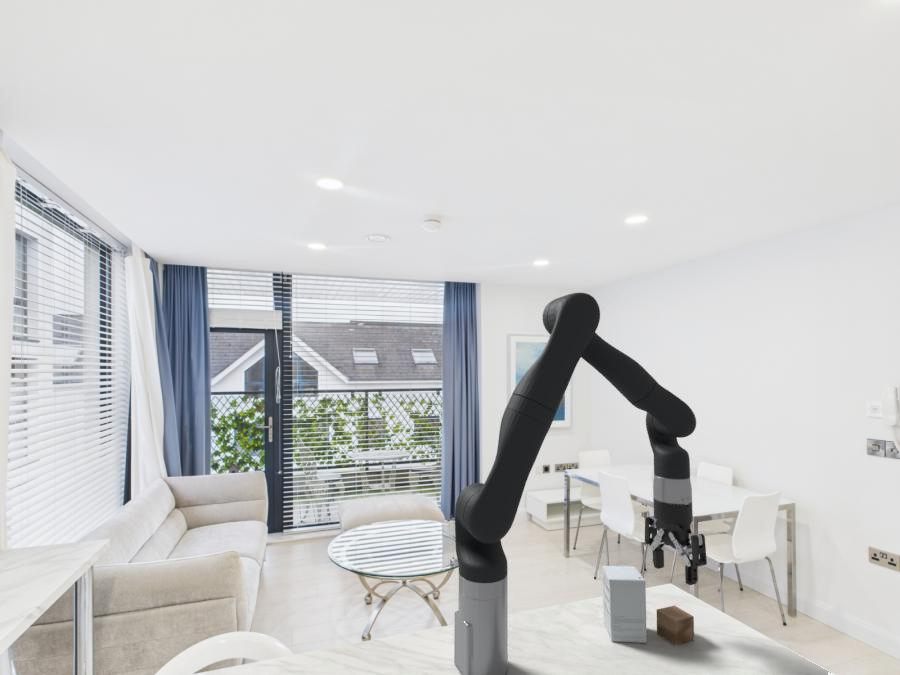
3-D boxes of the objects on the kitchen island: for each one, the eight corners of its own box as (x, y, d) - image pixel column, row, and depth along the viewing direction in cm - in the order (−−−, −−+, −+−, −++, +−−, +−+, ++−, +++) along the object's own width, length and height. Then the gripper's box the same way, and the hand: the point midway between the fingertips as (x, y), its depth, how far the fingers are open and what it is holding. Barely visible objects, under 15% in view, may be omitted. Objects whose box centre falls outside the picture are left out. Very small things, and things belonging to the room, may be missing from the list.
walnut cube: (675, 646, 100) (675, 620, 100) (656, 633, 105) (656, 609, 105) (694, 641, 102) (693, 616, 102) (674, 629, 106) (674, 605, 107)
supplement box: (637, 625, 108) (636, 565, 109) (647, 644, 101) (646, 580, 101) (602, 623, 109) (601, 564, 109) (610, 642, 101) (609, 578, 102)
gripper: (634, 491, 110) (636, 565, 109) (686, 508, 97) (688, 593, 96) (660, 487, 113) (662, 560, 112) (714, 504, 100) (717, 586, 99)
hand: (674, 575), depth 104 cm, fingers open, 8 cm apart
